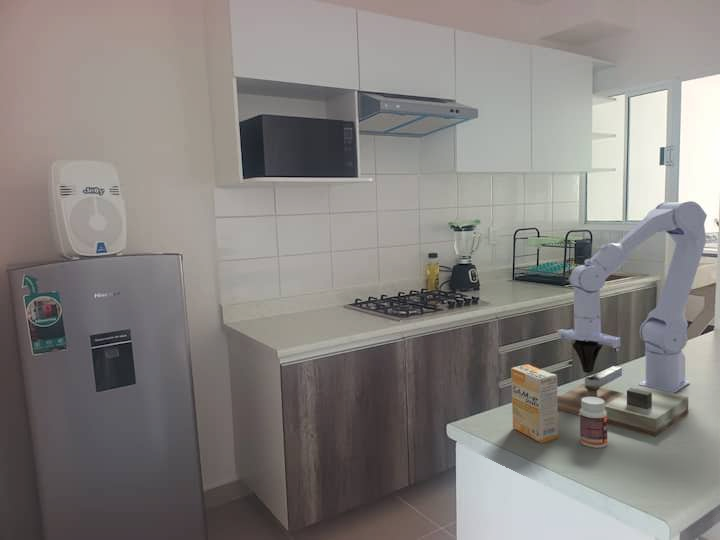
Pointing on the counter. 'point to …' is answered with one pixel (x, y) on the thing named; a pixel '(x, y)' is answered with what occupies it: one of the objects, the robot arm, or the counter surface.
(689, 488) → the counter surface
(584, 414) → the pill bottle
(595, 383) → the bar
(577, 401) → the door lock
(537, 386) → the supplement box
